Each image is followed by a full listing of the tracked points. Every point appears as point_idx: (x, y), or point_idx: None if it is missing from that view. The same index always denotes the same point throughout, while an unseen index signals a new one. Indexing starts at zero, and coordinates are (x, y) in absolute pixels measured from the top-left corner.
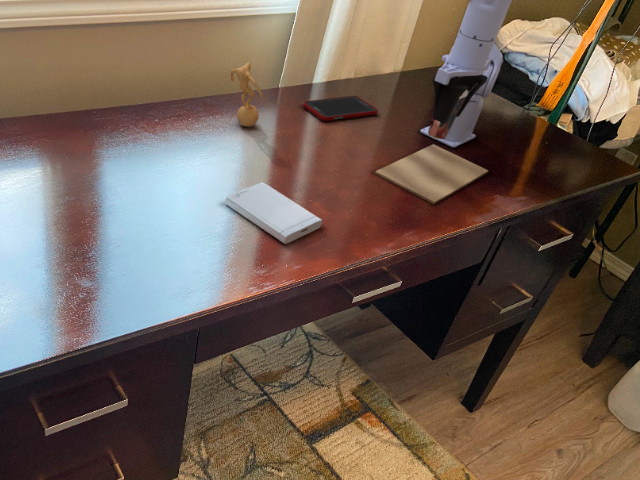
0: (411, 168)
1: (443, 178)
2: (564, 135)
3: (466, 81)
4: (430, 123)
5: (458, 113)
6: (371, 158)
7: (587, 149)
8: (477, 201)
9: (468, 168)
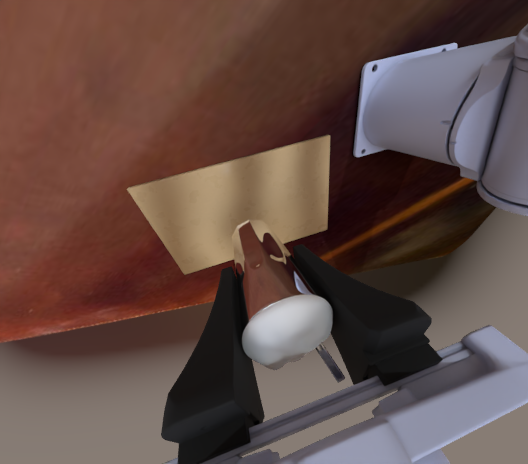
0: (213, 199)
1: None
2: None
3: (348, 345)
4: (239, 238)
5: None
6: (154, 130)
7: (484, 210)
8: None
9: (307, 219)
